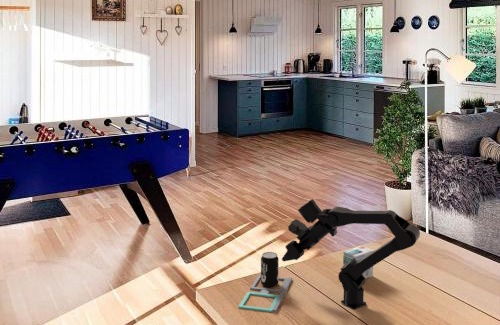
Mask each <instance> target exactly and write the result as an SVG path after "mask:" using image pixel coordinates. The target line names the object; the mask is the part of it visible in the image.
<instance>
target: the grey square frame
mask: <svg viewBox="0 0 500 325" xmlns="http://www.w3.org/2000/svg"><path fill="white" fill-rule="evenodd" d="M288 278H289V277H280V276H278V281H282V284H281V286H280V287H279V289H274V288H268V287H258V286H257V285H258V283H259V281H261V274H258V275H257V276H256V278H255V280H254V281H253V283H252V284H251V286H250V288H249V290H253V291H259V292H261V290H270V292H269V293H276V294H277V293H278V294H281V292H282V290H283V288H284V286H285V284H286V282H287V280H288Z"/></svg>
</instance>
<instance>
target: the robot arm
mask: <svg viewBox="0 0 500 325" xmlns="http://www.w3.org/2000/svg"><path fill="white" fill-rule="evenodd" d="M297 212H299V214H300V216H302V218H303V219H304V220H305V221H306V222H307V223H308V224H310V223H311V224H312V225H310V226H308V225H306V224H305V223H304V222H302V221H301V220H299V219H296V218H295V219H293V220H292V221H291V222H290V223H289V225H288V226H287V227H288V228H287V230H288V231H289V232H290V233H291V234H293V235H296V239H297V240H299V242H298V241H297V240H294V239H293V240H292V241H290V242H289V243H287V244H286V245H284V246H285V249H286V252H285V253H284V255H283V256H282V258H281V260H282V262H289V261H294V260H295V261H298V260H299V259H300V258H301V257H303V256H304V255H305V251H306V250H307V251H309V250H310V249H312V248H313V247H315V246H316V245H317V244H318V243H320V241H321V240H322V239H323V238H324V237H326V236H327V235H328V234H330V236H331V237H335V236H336V235H337V234H338V227H343V226H347V225H348V226H349V225H352V224H356V225H357V224H358V225H360V224H362V225H364V224H365V225H385V226H386V227H387V228H388V229H389V230H390V232H391V234H392V235H393V236H394V237H393V238H392V239H390V240H389V241H387V242H386V243H384V244H383V245H381V246H380V247H378V248H377V249H375V250H374V252H372V253H371V254H369V255H367V256H366V257H364V258H363V259H361V260H358V261H356V259H355V258H353V259H352V260H351V261H350V262H347V263H346V264H345V265H344V266H343V265H342V267H341V268H340V269H339V270H340V271H339V273H338V276H337V277H338V281H339V282H340V283H341V286H342V288H343V300H340V303H341V304H343V305H345V306H347V307H348V308H351V309H353V310H355V309H359V308H361V307H363V306H366V305H367V302H366V301H364V297H365V296H364V295H365V294H364V292H365V289H364V288H363V286H364V285H365V282H366V280H367V278H366V279H365V277H364V276H363V275H362V274H363V273H364V272H365V271H366V270H368V269H369V268H371V267H372V266H373V267H374V266H375V265H377V264H379V263H380V262H382V261H384V260H385V259H386V258H388V257H390V256H391V255H393V254H395V253H396V252H400V251H403V250H406V249H409V248H412V247H413V246H415V244H416V243H417V241H418V239H419V238H420V236H421V232H420V229H419V227H417V226H416V225H414V224H411V223H410V222H409V221H408V220H407V219H406V218H403V217H402V216H400V215H398V214H397V213H396V212H395V211H394V210H355V209H354V210H353V209H350V208H348V207H343V206H342V207H341V206H334V207H333V208H325V209H321V208H320V207H319V205H318V204H317V202H316V201H315V200H314V199H313V198H311V199H310V200H309V201H307V203H304V204H303V205H302V206H301V207H299V209H297ZM314 222H315V223H314Z"/></svg>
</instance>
